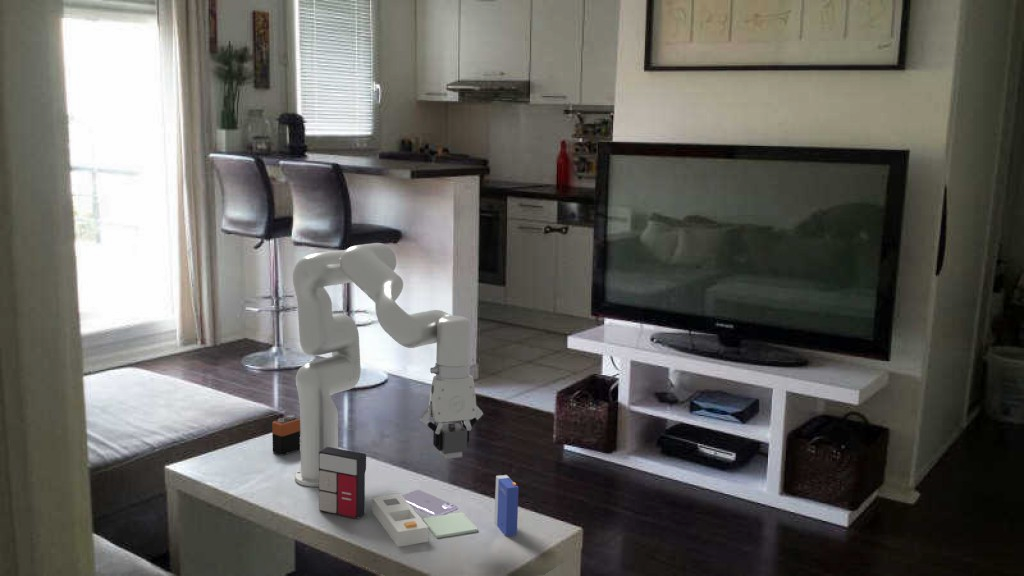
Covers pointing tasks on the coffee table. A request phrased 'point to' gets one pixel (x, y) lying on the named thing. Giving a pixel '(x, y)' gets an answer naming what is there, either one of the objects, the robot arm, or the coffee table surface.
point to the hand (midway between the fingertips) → (451, 446)
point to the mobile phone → (428, 503)
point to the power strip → (400, 520)
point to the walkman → (506, 505)
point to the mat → (449, 525)
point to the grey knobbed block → (453, 440)
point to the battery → (286, 435)
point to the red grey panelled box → (342, 482)
